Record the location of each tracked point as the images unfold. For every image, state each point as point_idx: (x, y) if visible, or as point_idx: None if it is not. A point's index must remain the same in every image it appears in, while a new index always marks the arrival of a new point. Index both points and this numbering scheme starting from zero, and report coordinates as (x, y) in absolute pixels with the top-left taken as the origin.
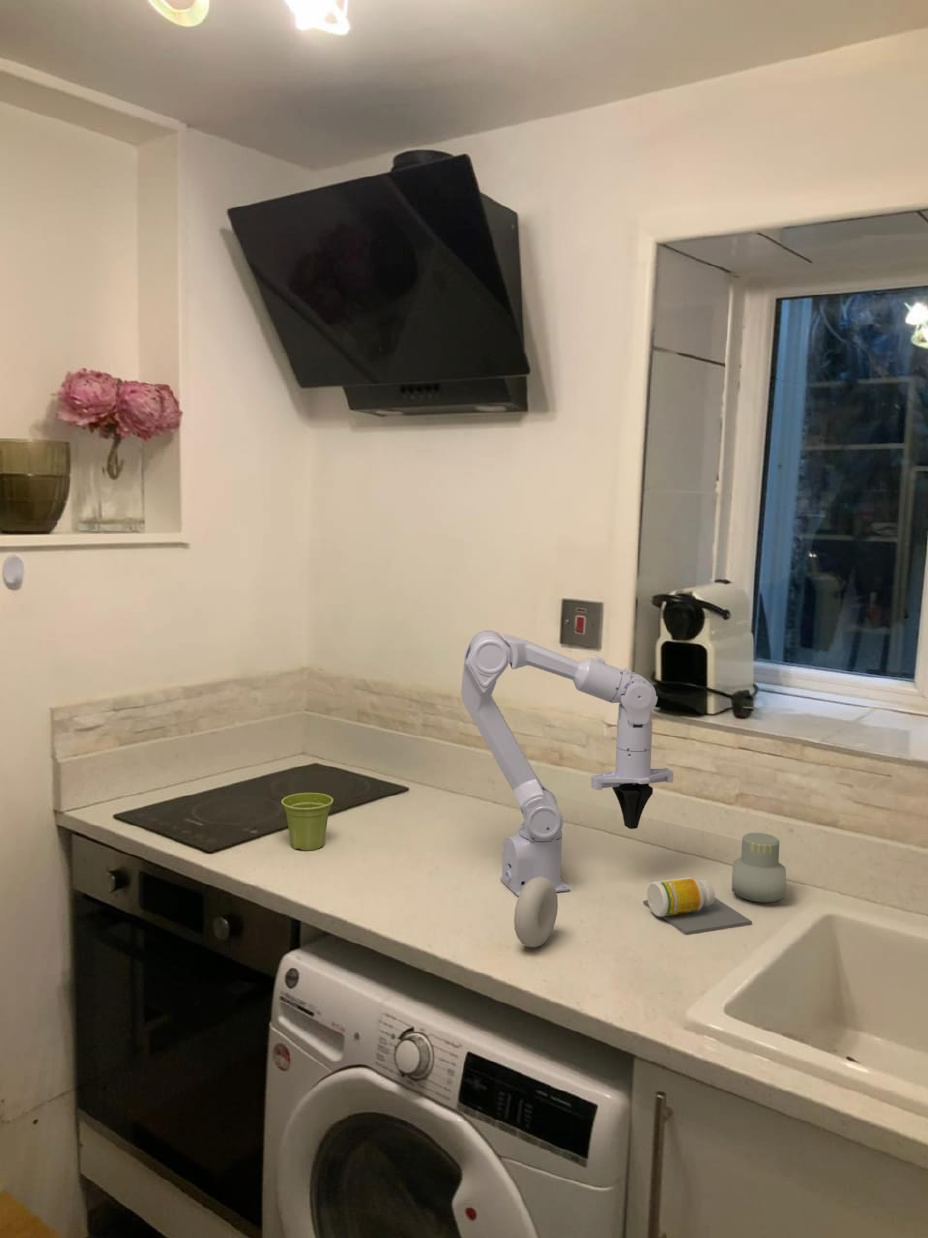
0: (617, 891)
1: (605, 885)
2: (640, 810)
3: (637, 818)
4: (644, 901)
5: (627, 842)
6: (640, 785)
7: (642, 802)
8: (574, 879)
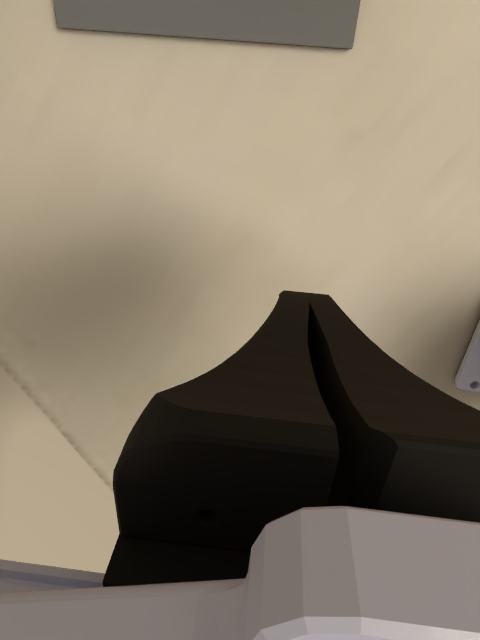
0: (356, 196)
1: (358, 254)
2: (280, 337)
3: (298, 312)
4: (353, 39)
5: (111, 454)
6: (241, 568)
7: (272, 370)
8: (413, 328)
